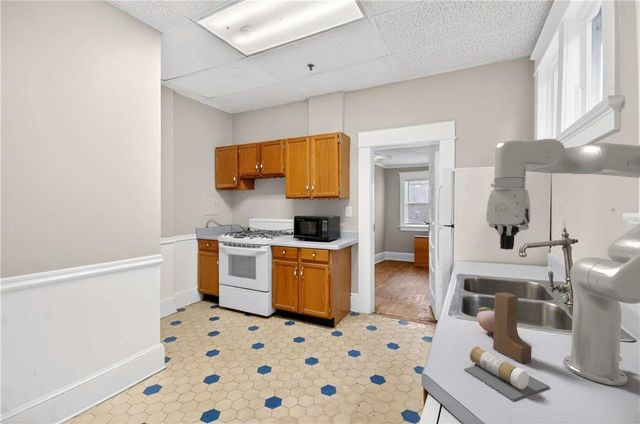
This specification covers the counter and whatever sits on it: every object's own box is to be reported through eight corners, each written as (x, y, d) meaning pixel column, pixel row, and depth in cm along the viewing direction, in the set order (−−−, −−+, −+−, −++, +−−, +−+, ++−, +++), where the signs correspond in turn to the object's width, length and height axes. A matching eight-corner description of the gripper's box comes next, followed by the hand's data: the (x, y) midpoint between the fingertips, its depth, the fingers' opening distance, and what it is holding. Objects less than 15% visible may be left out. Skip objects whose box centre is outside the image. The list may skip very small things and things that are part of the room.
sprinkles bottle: (478, 361, 81) (528, 389, 69) (467, 361, 79) (516, 391, 67) (480, 345, 81) (531, 370, 69) (470, 345, 80) (519, 371, 67)
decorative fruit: (481, 337, 97) (482, 309, 97) (474, 327, 105) (475, 301, 105) (512, 341, 95) (513, 312, 94) (502, 331, 103) (503, 304, 102)
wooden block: (531, 361, 82) (534, 300, 82) (521, 364, 80) (523, 302, 80) (502, 346, 90) (504, 291, 90) (492, 349, 89) (494, 292, 89)
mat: (498, 360, 82) (498, 359, 82) (549, 387, 70) (549, 386, 70) (464, 370, 77) (464, 368, 77) (512, 401, 65) (512, 399, 65)
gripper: (476, 186, 86) (474, 245, 86) (528, 182, 72) (525, 253, 72) (493, 187, 88) (491, 245, 89) (546, 184, 75) (543, 252, 75)
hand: (506, 248), depth 80 cm, fingers closed
